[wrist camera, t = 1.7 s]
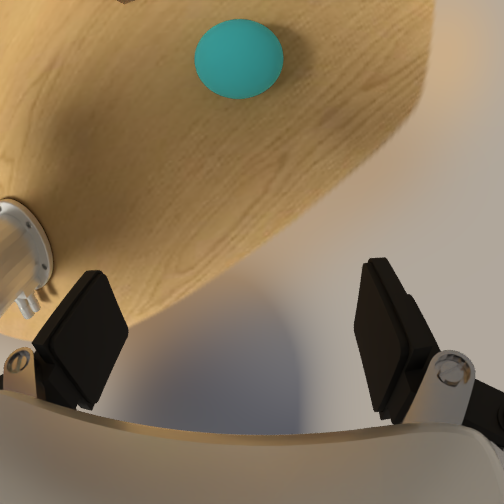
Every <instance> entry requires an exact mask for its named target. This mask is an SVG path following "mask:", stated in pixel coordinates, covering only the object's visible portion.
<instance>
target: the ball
mask: <svg viewBox="0 0 504 504" xmlns="http://www.w3.org/2000/svg"><path fill="white" fill-rule="evenodd" d="M282 67H283V50H282V47H281V44H280V42H279V40H278V39H277V37H276V36H275V35H274V33H273V32H272V31H270V30H269V29H268V28H267V27H265V26H264V25H262V24H260V23H258V22H255V21H252V20H246V19H233V20H228V21H224V22H222V23H219V24H217V25H215V26H214V27H212V28H211V29H210V30H208V31H207V32H206V33H205V34H204V35H203V37H202V38H201V40H200V41H199V43H198V45H197V48H196V51H195V68H196V71H197V74H198V76H199V78H200V80H201V81H202V82H203V84H204V85H205V86H206V87H207V88H209V89H210V90H211V91H213V92H214V93H216V94H218V95H220V96H223V97H227V98H232V99H245V98H250V97H254V96H256V95H259V94H261V93H263V92H264V91H266V90H267V89H269V88H270V87H271V86H272V85H273V84H274V83H275V81H276V80H277V78H278V77H279V75H280V73H281V70H282Z"/></svg>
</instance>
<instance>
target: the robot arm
mask: <svg viewBox="0 0 504 504" xmlns="http://www.w3.org/2000/svg"><path fill="white" fill-rule="evenodd" d="M52 271H53V256H52V252H51V247H50V244H49V241H48V239H47V236H46V234H45V232H44V230H43V228H42V226H41V225H40V223H39V222H38V220H37V219H36V218H35V216H34V215H33V214H32V213H31V212H30V211H29V210H28V209H27V208H26V207H25V206H24V205H22V204H21V203H19V202H17V201H15V200H12V199H3V200H0V318H1V317H2V315H3V314H4V313H5V312H6V310H7V309H8V308H9V307H10V306H11V305H12V303H13V302H16V303H17V305H18V307H19V309H20V311H21V313H22V315H23V317H24V318H25V319H29V318H31V317H32V316H33V315H34V314H35V312H37V311H39V310H40V308H41V306H40V304H39V302H38V300H37V299H36V297H35V295H34V293H35V291H34V290H36V289H40V288H41V287H43V286H44V285H45V284H46V283H47V282H48V280H49V279H50V277H51V275H52ZM354 333H355V336H356V340H357V344H358V348H359V352H360V356H361V359H362V364H363V368H364V372H365V376H366V380H367V384H368V388H369V392H370V397H371V401H372V406H373V410H374V412H379V414H380V419H381V420H384V419H390V418H391V422H392V424H394V425H388V426H380V427H371V428H364V429H357V430H347V431H337V432H326V433H310V434H291V435H234V434H215V433H201V432H191V431H182V430H173V429H166V428H159V427H152V426H146V425H140V424H134V423H129V422H123V421H119V420H114V419H109V418H105V417H101V416H96V415H92V414H88V413H85V412H81V411H77V410H76V406H77V404H78V405H79V406H80V407H81V408H84V409H87V410H92V409H93V406H94V404H95V403H97V402H98V401H99V398H100V396H101V394H102V391H103V389H104V386H105V385H106V382H107V380H108V378H109V375H110V373H111V371H112V369H113V367H114V364H115V362H116V360H117V358H118V356H119V354H120V351H121V349H122V347H123V345H124V343H125V341H126V339H127V337H128V326H127V324H126V322H125V320H124V317H123V315H122V313H121V311H120V308H119V306H118V304H117V301H116V299H115V296H114V294H113V291H112V289H111V286H110V284H109V281H108V279H107V276H106V275H105V274H103V272H102V271H100V270H90V271H86V272H85V273H84V274H83V275H82V276H81V278H80V279H79V280H78V281H77V283H76V284H75V285H74V286H73V288H72V289H71V290H70V291H69V293H68V294H67V295H66V296H65V298H64V299H63V300H62V302H61V303H60V304H59V306H58V307H57V308H56V310H55V311H54V312H53V314H52V315H51V316H50V318H49V319H48V320H47V322H46V323H45V324H44V326H43V327H42V329H41V330H40V331H39V333H38V334H37V336H36V337H35V339H34V340H33V342H32V344H33V346H34V347H35V349H36V351H35V353H33V351H32V350H31V349H30V348H28V347H22V348H19V349H17V350H15V351H14V352H12V353H11V354H10V355H9V357H8V358H7V360H6V361H5V364H4V372H3V374H2V375H0V504H504V393H503V392H502V391H500V390H497V389H495V388H493V387H491V386H489V385H487V384H485V383H483V382H481V381H479V380H477V379H475V368H474V365H473V364H472V362H471V360H470V359H469V358H468V357H466V356H465V355H464V354H462V353H460V352H458V351H453V350H444V351H440V349H439V347H438V345H437V342H436V340H435V338H434V337H433V334H432V333H431V330H430V328H429V327H428V325H427V323H426V321H425V319H424V317H423V315H422V313H421V311H420V309H419V308H418V306H417V304H416V302H415V300H414V298H413V297H412V296H411V295H410V294H407V293H406V291H405V290H404V288H403V286H402V284H401V282H400V281H399V279H398V277H397V275H396V274H395V272H394V270H393V268H392V267H391V265H390V263H389V262H388V260H387V259H386V258H385V257H384V258H370V259H369V260H368V263H364V264H363V267H362V274H361V282H360V289H359V296H358V303H357V309H356V315H355V321H354Z"/></svg>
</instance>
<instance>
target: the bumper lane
mask: <svg viewBox="0 0 504 504" xmlns="http://www.w3.org/2000/svg"><path fill="white" fill-rule="evenodd" d="M117 1H119V2H121V3H123V4H125V3H128V2H131V1H134V0H117Z"/></svg>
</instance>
